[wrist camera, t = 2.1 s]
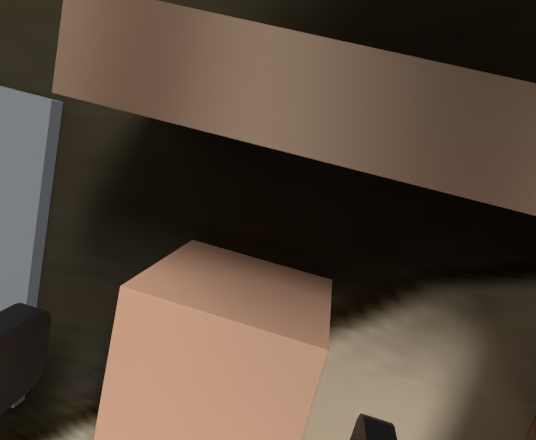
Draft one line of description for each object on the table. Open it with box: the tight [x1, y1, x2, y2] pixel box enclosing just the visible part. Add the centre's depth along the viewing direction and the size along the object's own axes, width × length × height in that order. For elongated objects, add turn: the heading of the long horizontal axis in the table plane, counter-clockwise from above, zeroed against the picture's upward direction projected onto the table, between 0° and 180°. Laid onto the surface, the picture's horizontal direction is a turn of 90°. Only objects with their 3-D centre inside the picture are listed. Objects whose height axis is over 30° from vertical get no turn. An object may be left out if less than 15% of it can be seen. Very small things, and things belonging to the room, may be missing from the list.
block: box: [94, 240, 332, 440], centre depth 12 cm, size 5×5×5 cm
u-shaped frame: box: [52, 0, 536, 440], centre depth 11 cm, size 16×17×6 cm
